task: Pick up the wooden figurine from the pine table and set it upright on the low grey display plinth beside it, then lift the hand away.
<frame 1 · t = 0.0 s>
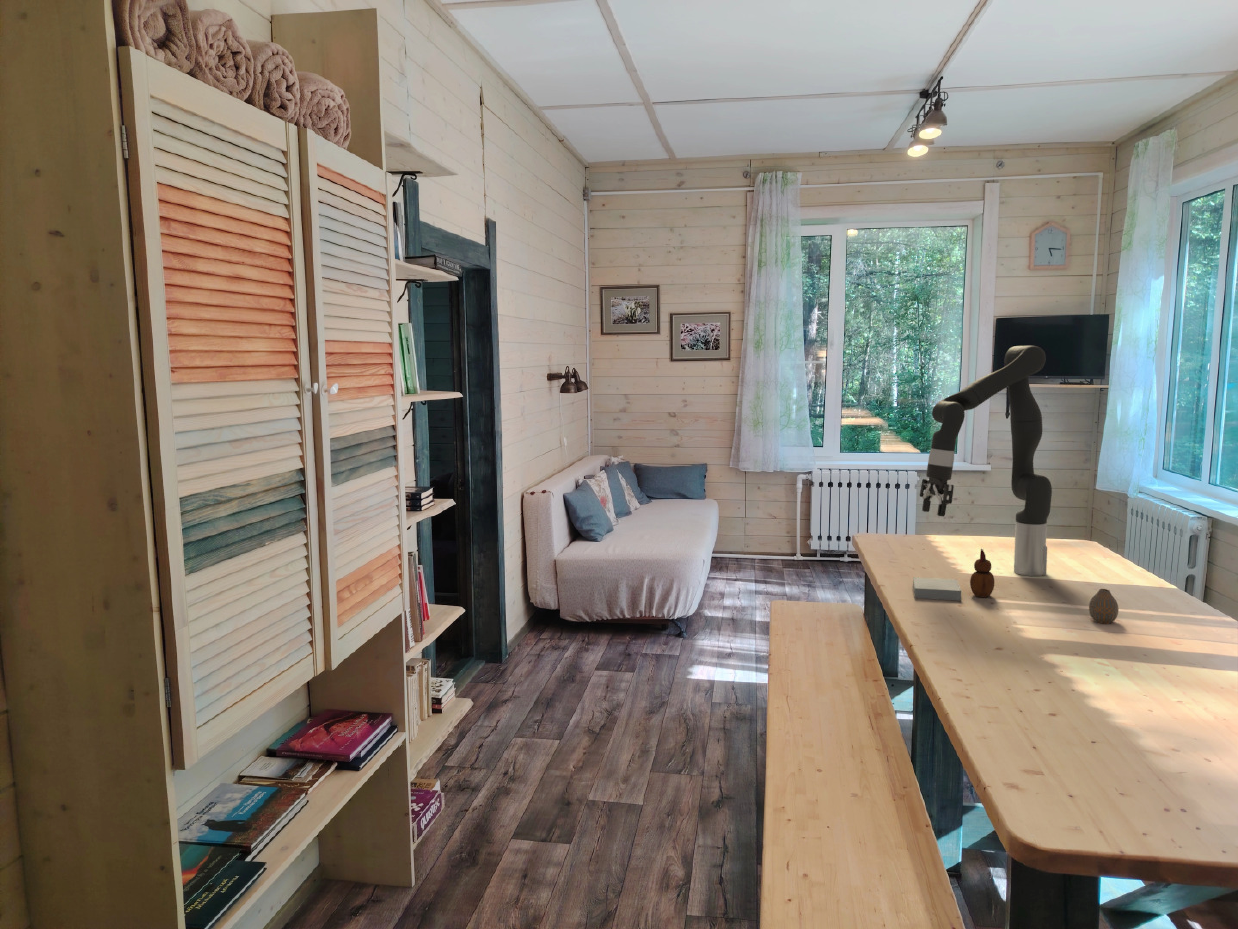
hand: (933, 513, 260), 22 cm above the table, fingers open, 8 cm apart
vase: (1102, 622, 219), on the table
display plinth: (936, 593, 249), on the table
wooden figurine: (981, 596, 245), on the table
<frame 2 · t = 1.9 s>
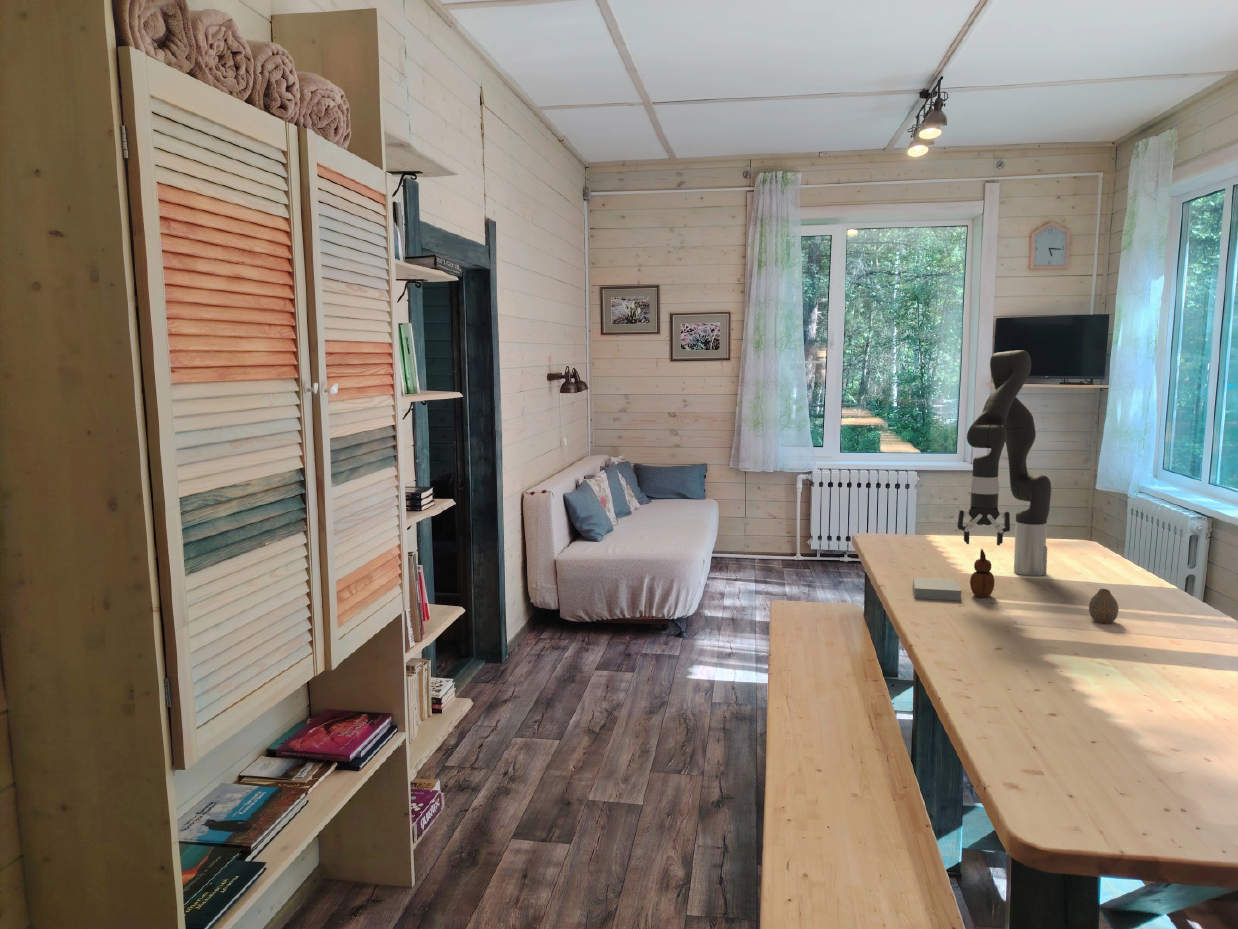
hand: (982, 544, 243), 16 cm above the table, fingers open, 8 cm apart
nothing on the table moved.
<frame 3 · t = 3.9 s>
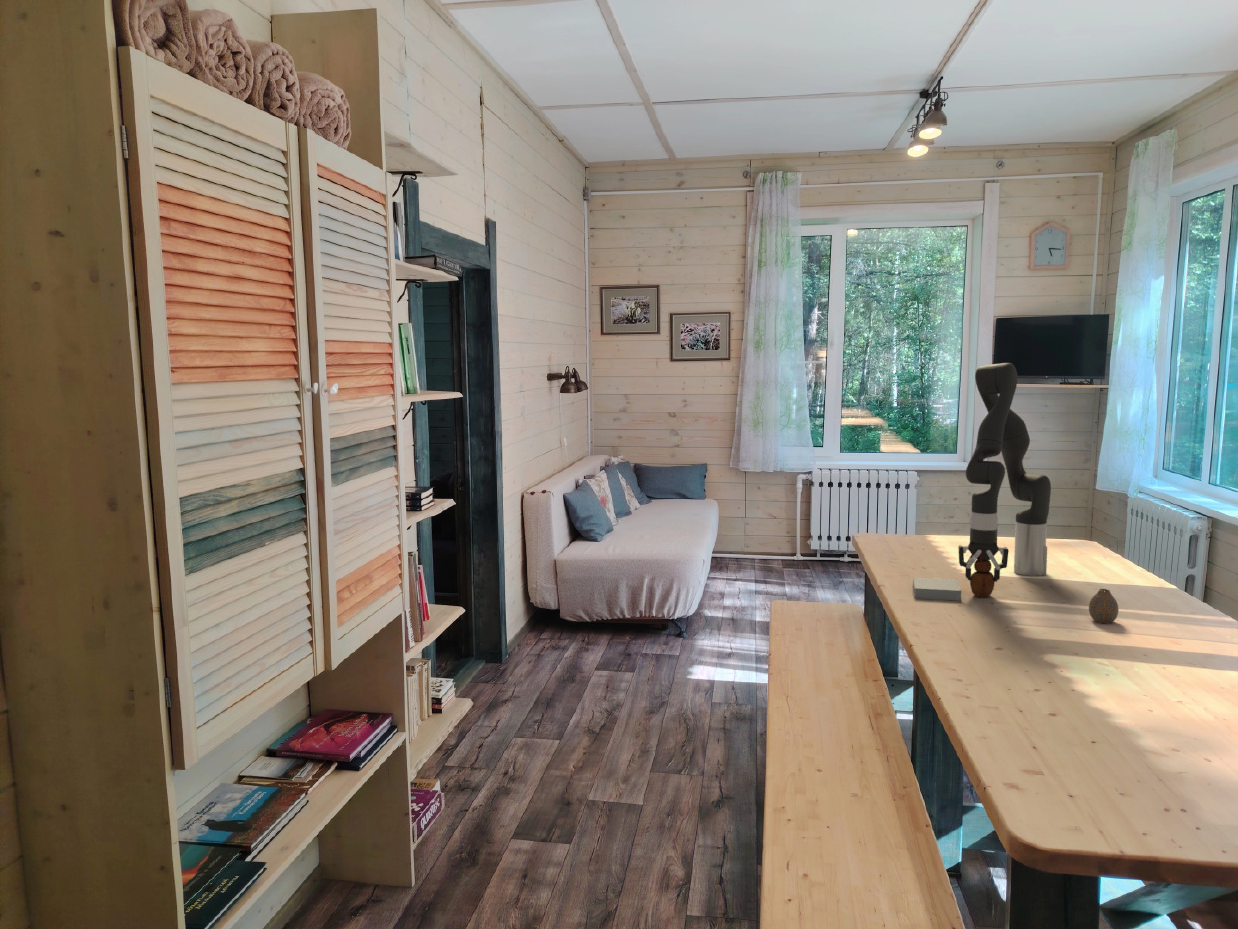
hand: (982, 580, 245), 5 cm above the table, fingers closed on wooden figurine, 6 cm apart
wooden figurine: (981, 596, 245), on the table, touching gripper
everything else where it was.
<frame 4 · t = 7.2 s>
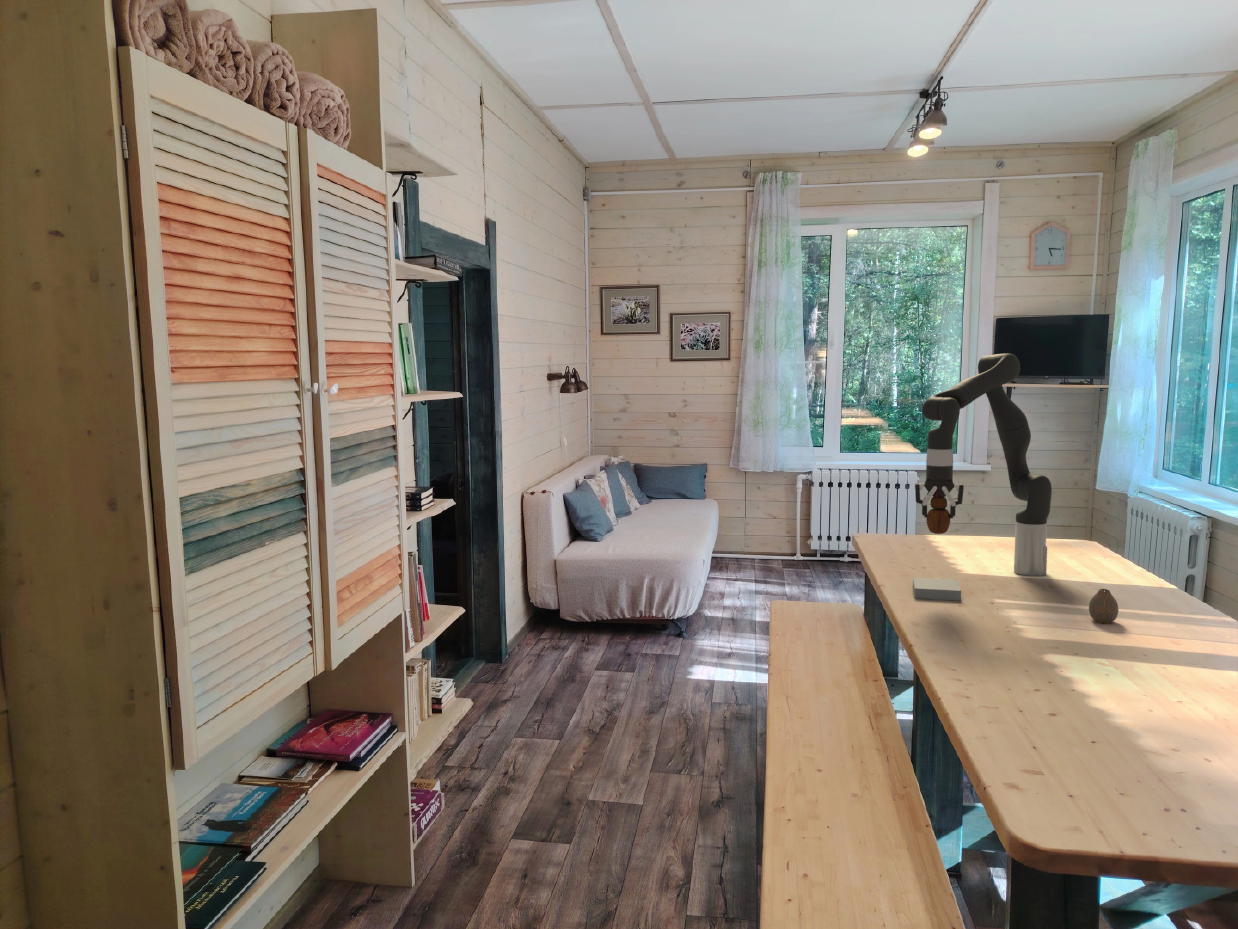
hand: (938, 517, 246), 24 cm above the table, fingers closed on wooden figurine, 6 cm apart
wooden figurine: (938, 533, 247), point 19 cm above the table, touching gripper
everything else where it was.
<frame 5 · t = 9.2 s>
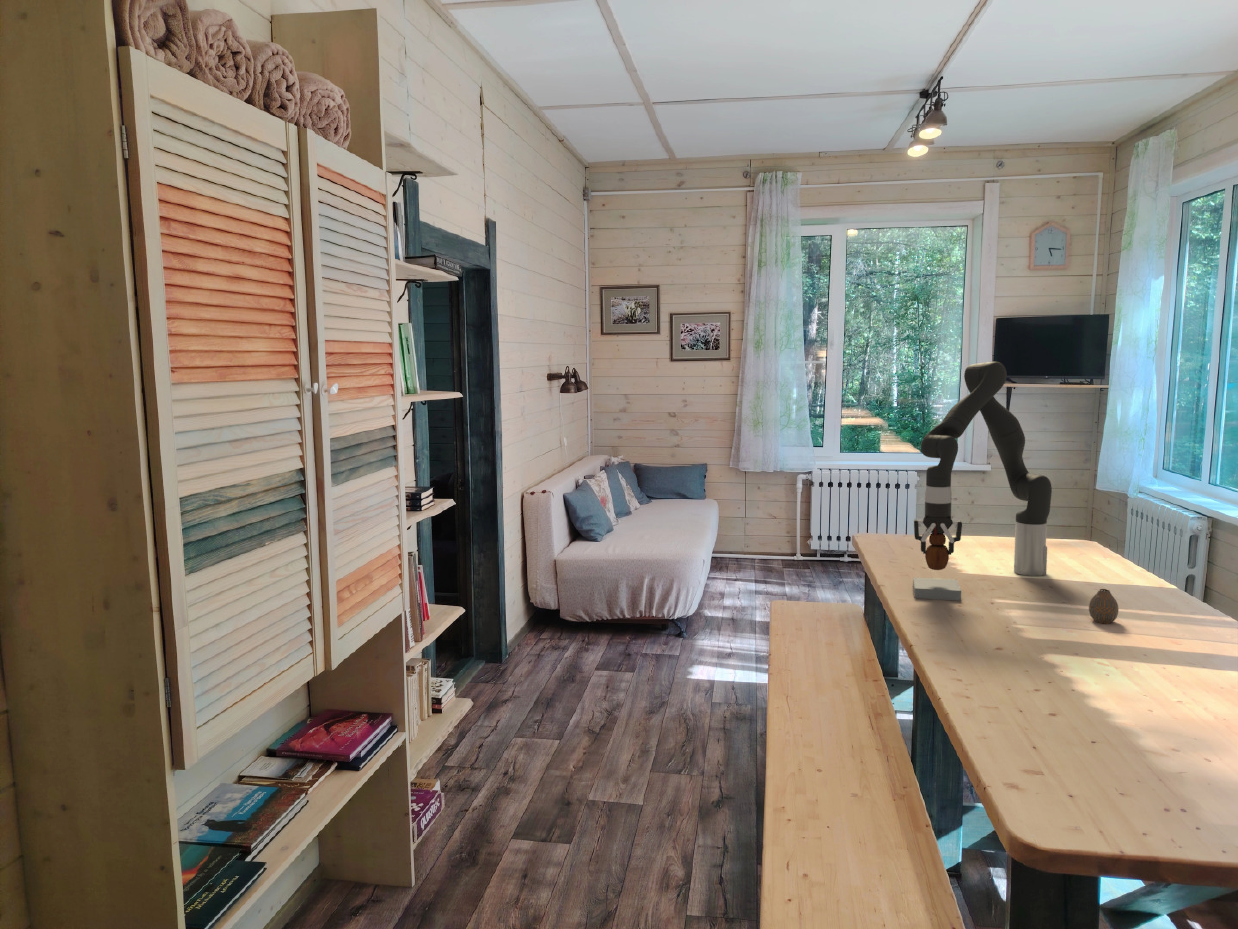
hand: (936, 553, 248), 12 cm above the table, fingers closed on wooden figurine, 6 cm apart
wooden figurine: (936, 569, 248), point 7 cm above the table, touching gripper
everything else where it was.
when the fingers open (9 cm above the table, at t = 11.0 s): wooden figurine drops 1 cm, resting on display plinth.
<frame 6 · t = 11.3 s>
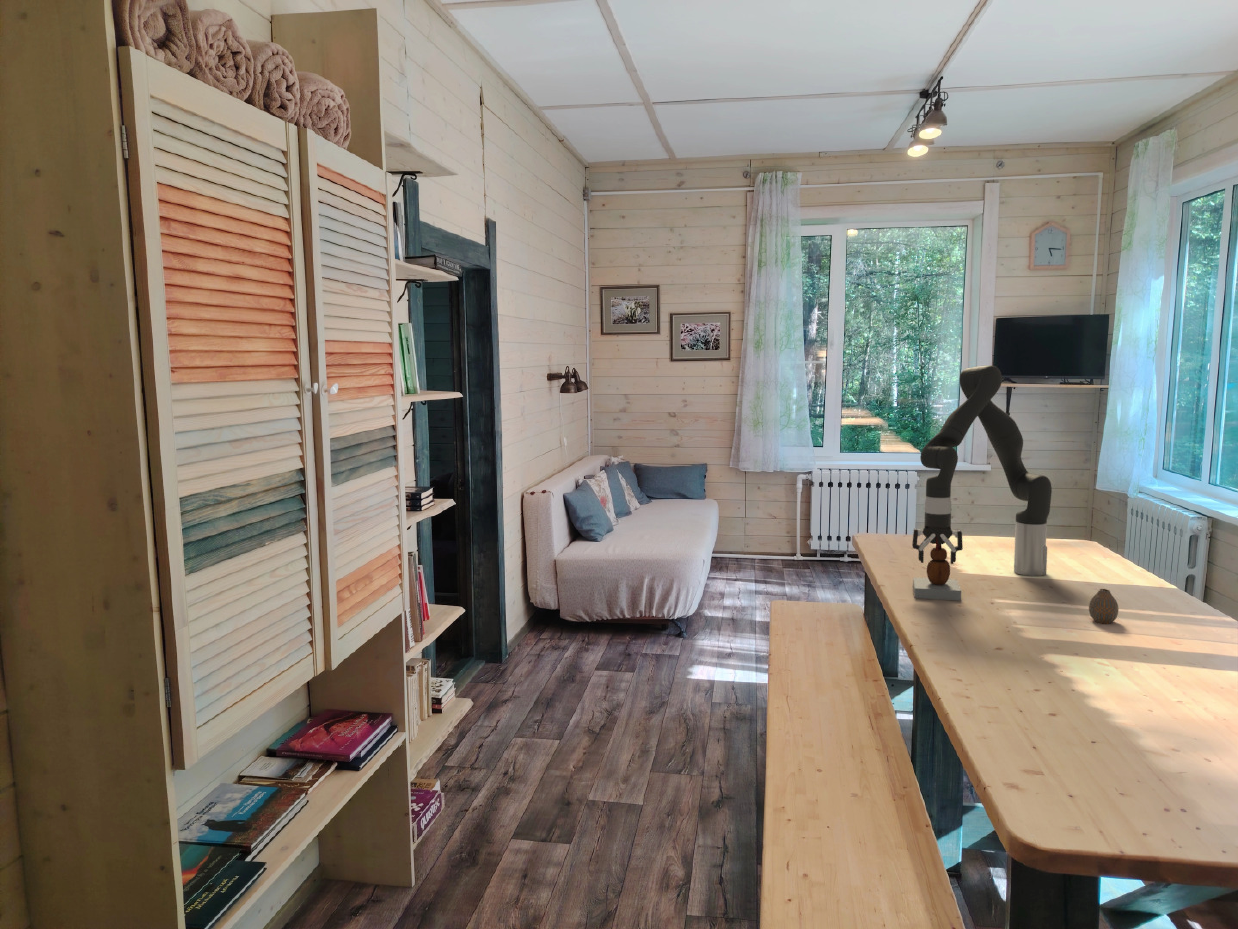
hand: (936, 562, 248), 10 cm above the table, fingers open, 8 cm apart
wooden figurine: (938, 584, 249), point 3 cm above the table, touching display plinth
everything else where it was.
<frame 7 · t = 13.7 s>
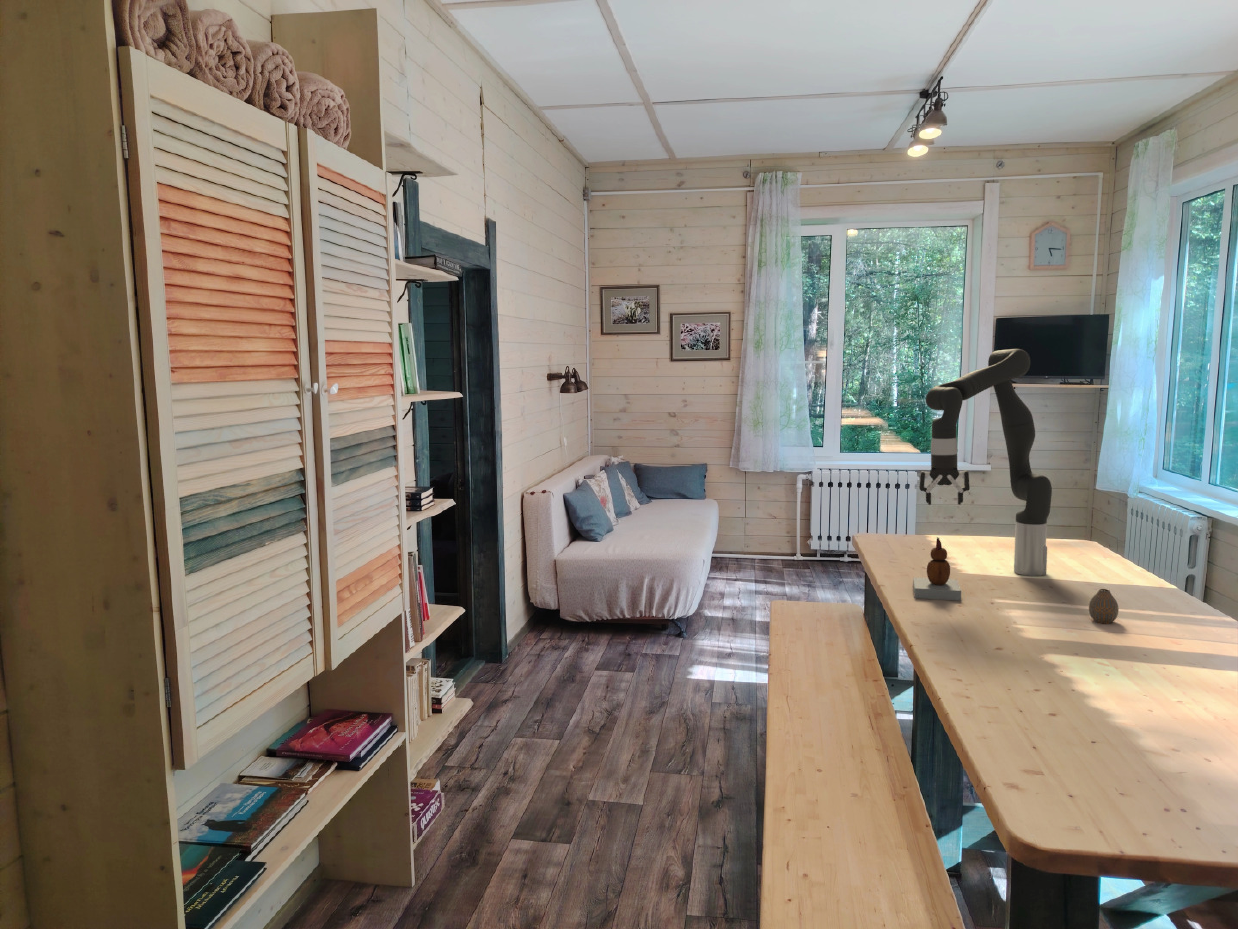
hand: (944, 504, 250), 27 cm above the table, fingers open, 8 cm apart
nothing on the table moved.
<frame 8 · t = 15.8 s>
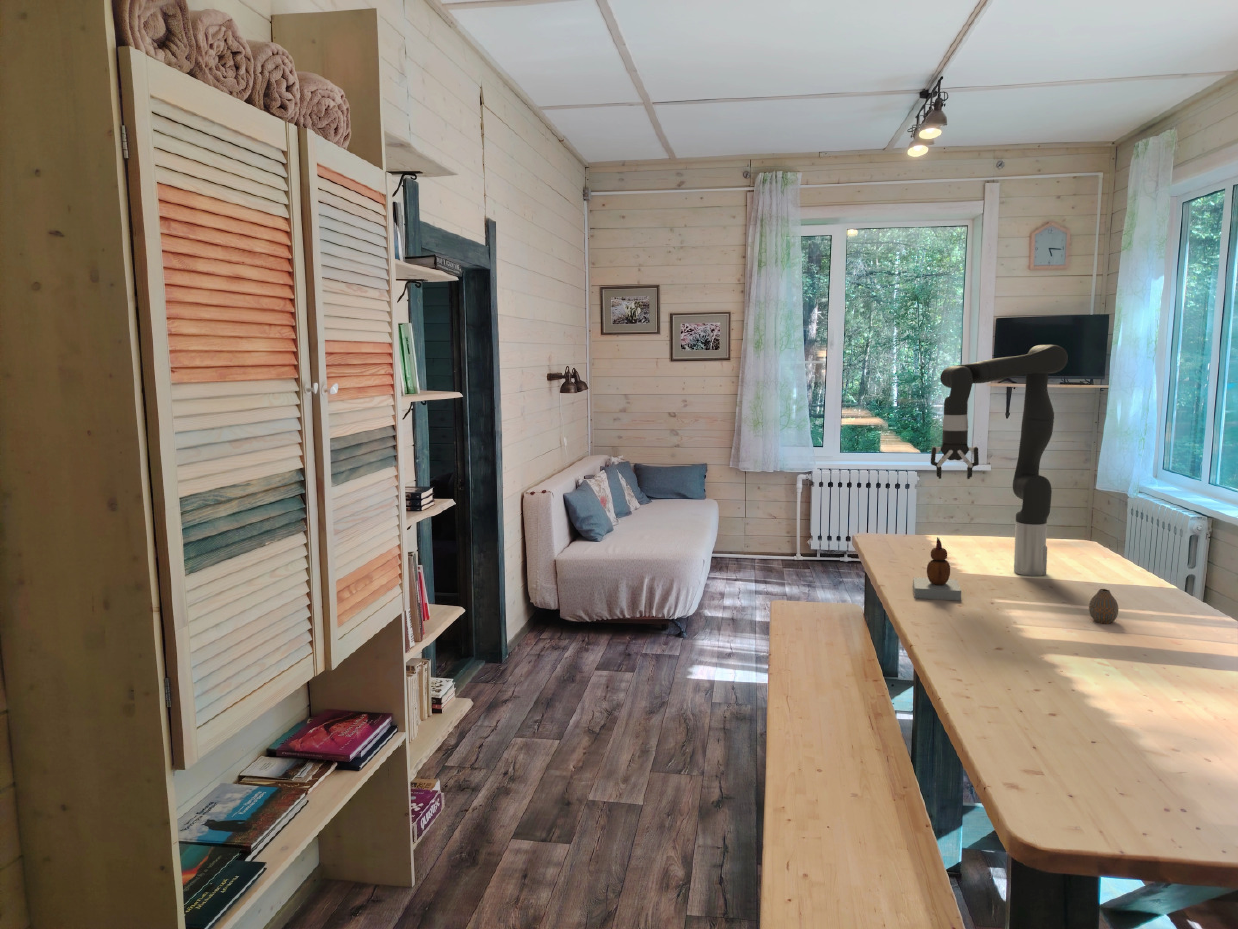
hand: (953, 478, 261), 33 cm above the table, fingers open, 8 cm apart
nothing on the table moved.
at the end: wooden figurine inside the target area on the display plinth (0.6 cm from its centre), point 2.8 cm above the display plinth's base; wooden figurine tilted 0°; the gripper is holding nothing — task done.
